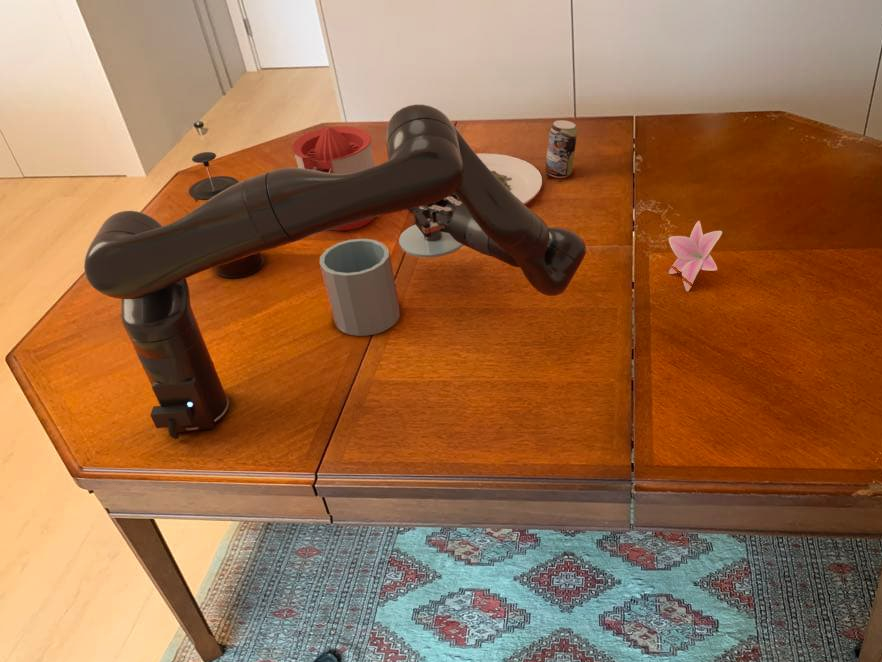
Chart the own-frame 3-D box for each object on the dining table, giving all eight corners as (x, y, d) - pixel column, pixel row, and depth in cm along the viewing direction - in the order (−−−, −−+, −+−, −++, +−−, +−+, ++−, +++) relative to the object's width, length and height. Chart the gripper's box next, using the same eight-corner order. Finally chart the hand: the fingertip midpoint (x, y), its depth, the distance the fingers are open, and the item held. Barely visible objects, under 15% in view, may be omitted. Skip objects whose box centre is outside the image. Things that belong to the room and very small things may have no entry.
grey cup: (399, 332, 141) (388, 271, 133) (333, 339, 140) (317, 278, 132) (400, 295, 150) (389, 235, 141) (337, 301, 149) (322, 242, 141)
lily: (667, 259, 157) (653, 230, 150) (726, 237, 154) (714, 206, 146) (680, 308, 151) (665, 280, 144) (741, 286, 148) (730, 257, 140)
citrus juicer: (294, 237, 167) (269, 145, 154) (330, 198, 179) (309, 109, 166) (364, 244, 164) (345, 150, 150) (395, 203, 176) (380, 113, 163)
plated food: (557, 166, 187) (556, 152, 185) (520, 231, 165) (519, 216, 163) (436, 156, 194) (434, 142, 191) (386, 216, 172) (383, 202, 170)
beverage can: (541, 172, 185) (539, 121, 177) (569, 165, 187) (569, 114, 179) (552, 183, 181) (551, 131, 173) (582, 176, 183) (582, 124, 175)
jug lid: (469, 256, 145) (463, 204, 138) (399, 263, 144) (390, 212, 137) (466, 222, 154) (460, 172, 147) (400, 229, 153) (391, 179, 147)
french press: (248, 282, 155) (212, 170, 139) (204, 278, 156) (163, 167, 141) (276, 250, 163) (244, 141, 148) (233, 247, 165) (198, 138, 150)
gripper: (511, 193, 138) (444, 166, 147) (450, 226, 130) (383, 195, 139) (514, 232, 143) (449, 204, 152) (455, 266, 135) (390, 233, 144)
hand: (417, 199), depth 145 cm, fingers closed on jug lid, 3 cm apart
